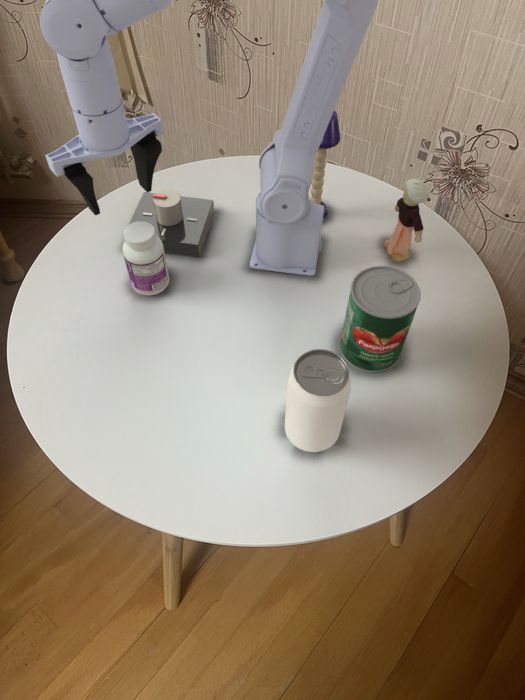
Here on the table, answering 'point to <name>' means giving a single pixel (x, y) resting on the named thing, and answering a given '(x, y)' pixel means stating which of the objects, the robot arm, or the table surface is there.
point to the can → (316, 400)
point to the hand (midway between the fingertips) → (120, 199)
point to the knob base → (179, 224)
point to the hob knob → (168, 207)
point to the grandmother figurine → (407, 220)
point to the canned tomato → (378, 318)
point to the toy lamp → (328, 141)
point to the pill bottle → (145, 258)
